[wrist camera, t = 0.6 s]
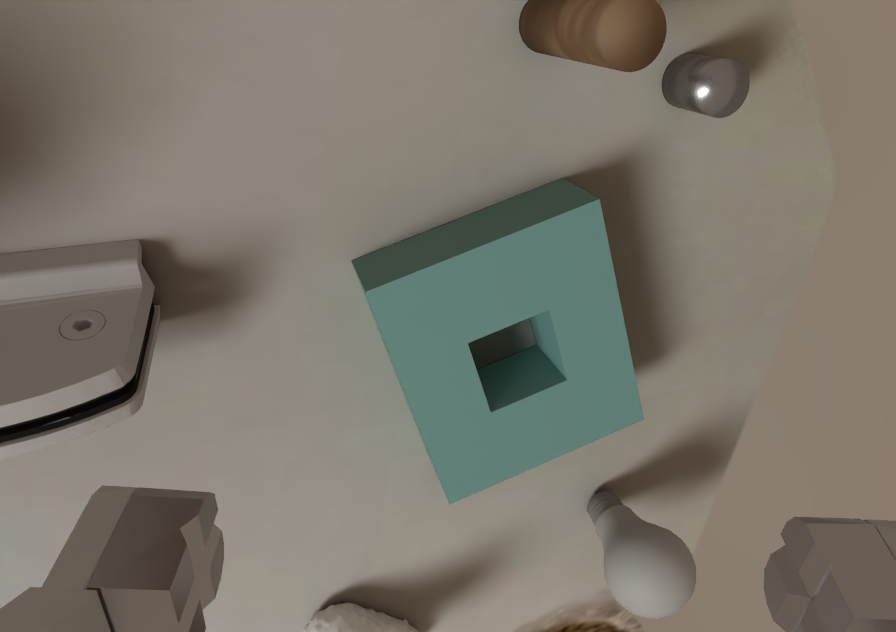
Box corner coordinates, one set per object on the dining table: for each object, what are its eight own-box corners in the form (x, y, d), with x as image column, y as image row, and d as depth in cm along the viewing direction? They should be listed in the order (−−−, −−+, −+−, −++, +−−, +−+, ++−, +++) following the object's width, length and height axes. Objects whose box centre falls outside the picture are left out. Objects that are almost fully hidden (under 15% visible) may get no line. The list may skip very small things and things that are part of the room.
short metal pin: (658, 63, 43) (696, 70, 40) (705, 45, 44) (746, 50, 40) (665, 114, 45) (702, 125, 41) (710, 97, 45) (751, 106, 42)
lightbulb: (547, 520, 56) (613, 631, 46) (586, 457, 54) (664, 559, 45) (607, 536, 59) (682, 645, 49) (646, 476, 57) (731, 576, 47)
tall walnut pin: (512, 2, 39) (594, 7, 31) (565, -16, 40) (660, -17, 31) (526, 61, 41) (607, 82, 32) (577, 42, 41) (671, 58, 33)
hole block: (351, 260, 43) (365, 291, 39) (563, 177, 45) (599, 198, 40) (430, 459, 51) (449, 504, 46) (608, 382, 52) (644, 419, 48)
